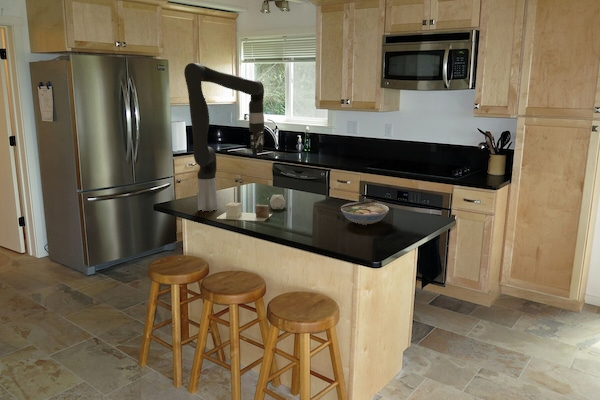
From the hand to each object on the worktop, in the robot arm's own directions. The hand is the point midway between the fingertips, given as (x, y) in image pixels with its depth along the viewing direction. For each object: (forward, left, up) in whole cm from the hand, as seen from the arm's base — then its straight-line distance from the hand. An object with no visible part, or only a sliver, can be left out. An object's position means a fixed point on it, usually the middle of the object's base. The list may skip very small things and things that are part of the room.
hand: (257, 154), depth 263 cm
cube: (-9, -13, -29) cm, 33 cm away
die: (+8, +6, -30) cm, 32 cm away
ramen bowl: (+56, -10, -30) cm, 64 cm away
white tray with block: (-3, -13, -30) cm, 33 cm away
